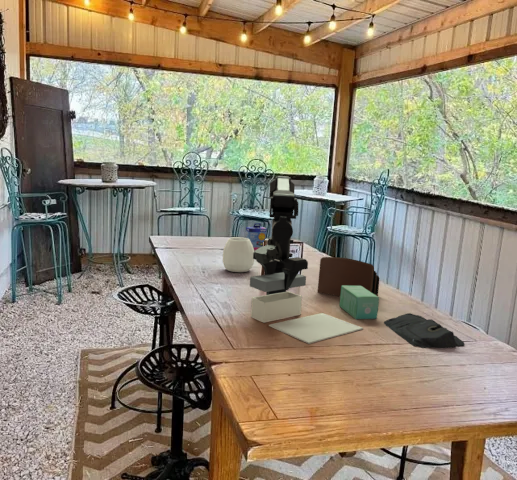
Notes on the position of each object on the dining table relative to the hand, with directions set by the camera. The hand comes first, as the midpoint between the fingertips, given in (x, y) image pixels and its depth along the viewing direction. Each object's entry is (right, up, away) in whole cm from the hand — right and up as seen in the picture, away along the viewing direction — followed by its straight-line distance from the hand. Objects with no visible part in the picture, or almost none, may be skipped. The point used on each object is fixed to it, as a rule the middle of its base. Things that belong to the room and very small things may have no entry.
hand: (277, 287), depth 151 cm
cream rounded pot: (-14, +1, +59) cm, 61 cm away
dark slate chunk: (+41, -13, -7) cm, 43 cm away
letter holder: (+26, -6, +31) cm, 41 cm away
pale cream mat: (+11, -11, -7) cm, 17 cm away
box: (+26, -9, +9) cm, 29 cm away
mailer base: (0, -9, +2) cm, 9 cm away
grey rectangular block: (0, 0, 0) cm, 0 cm away
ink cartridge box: (-8, +8, +105) cm, 106 cm away
